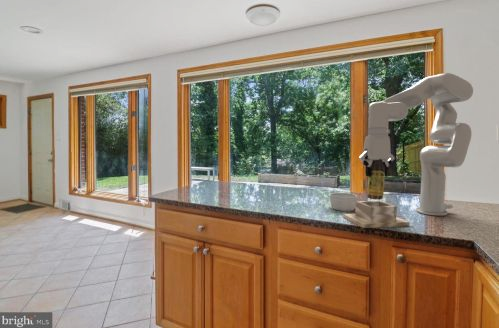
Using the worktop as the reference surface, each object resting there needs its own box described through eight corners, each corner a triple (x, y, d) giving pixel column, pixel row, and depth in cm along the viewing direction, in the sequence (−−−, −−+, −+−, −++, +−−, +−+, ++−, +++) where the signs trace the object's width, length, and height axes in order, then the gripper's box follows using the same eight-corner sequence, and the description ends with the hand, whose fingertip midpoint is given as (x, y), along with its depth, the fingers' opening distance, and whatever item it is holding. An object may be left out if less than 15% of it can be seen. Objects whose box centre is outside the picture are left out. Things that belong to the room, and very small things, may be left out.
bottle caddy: (384, 215, 129) (385, 199, 129) (409, 225, 114) (410, 207, 113) (343, 217, 126) (343, 200, 126) (363, 228, 111) (364, 209, 110)
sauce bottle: (367, 199, 117) (368, 151, 116) (366, 196, 123) (367, 150, 122) (384, 200, 115) (386, 151, 113) (383, 197, 121) (384, 150, 119)
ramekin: (359, 212, 136) (359, 198, 135) (330, 211, 138) (330, 196, 138) (354, 206, 148) (355, 193, 148) (328, 205, 151) (328, 192, 151)
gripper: (391, 133, 122) (389, 174, 123) (353, 132, 119) (352, 175, 121) (403, 132, 115) (401, 177, 116) (363, 132, 112) (362, 177, 113)
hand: (376, 175), depth 118 cm, fingers closed on sauce bottle, 6 cm apart
